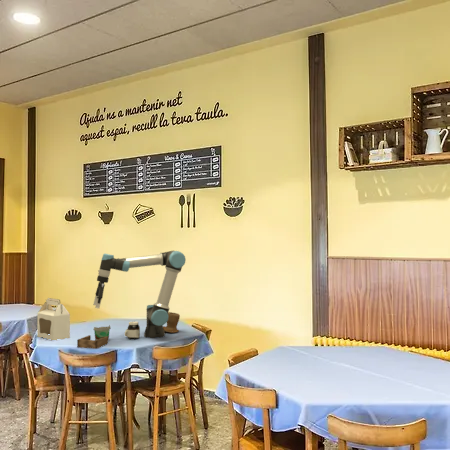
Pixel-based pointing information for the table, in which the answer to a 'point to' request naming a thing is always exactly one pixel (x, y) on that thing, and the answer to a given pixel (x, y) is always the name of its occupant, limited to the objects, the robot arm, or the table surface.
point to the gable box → (53, 321)
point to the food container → (101, 332)
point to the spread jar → (133, 330)
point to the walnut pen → (91, 342)
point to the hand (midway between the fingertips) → (96, 306)
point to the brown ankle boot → (172, 322)
